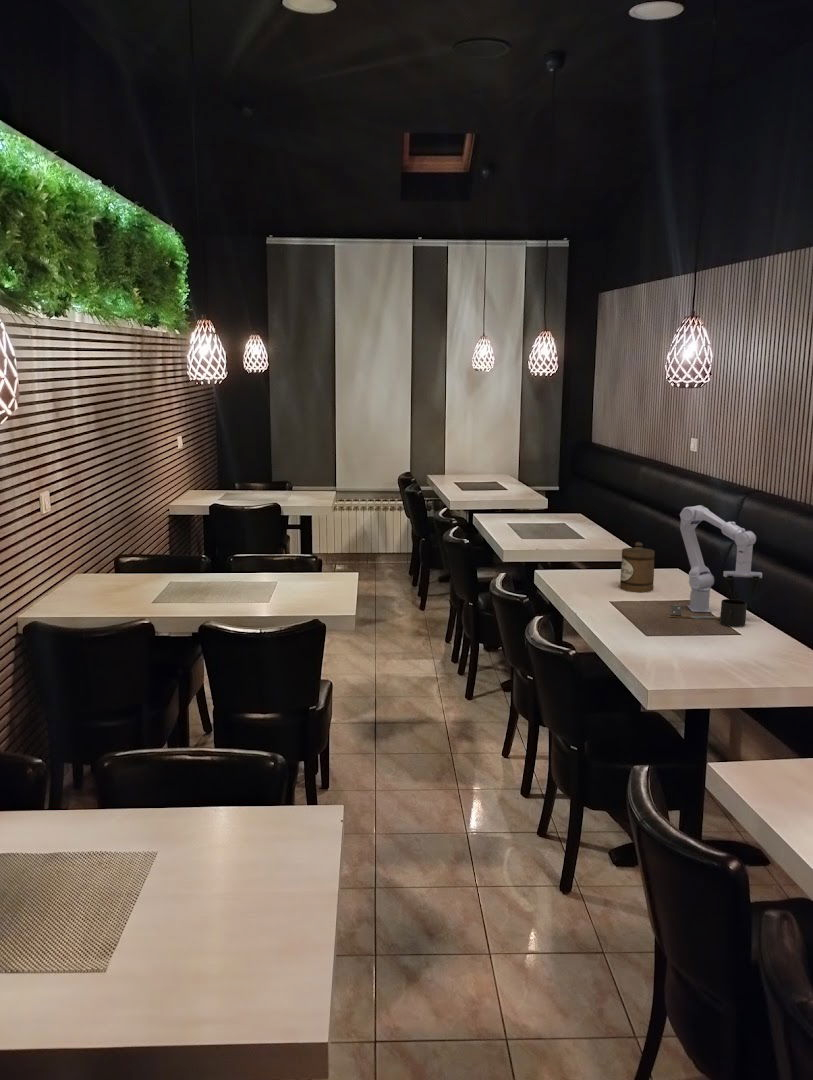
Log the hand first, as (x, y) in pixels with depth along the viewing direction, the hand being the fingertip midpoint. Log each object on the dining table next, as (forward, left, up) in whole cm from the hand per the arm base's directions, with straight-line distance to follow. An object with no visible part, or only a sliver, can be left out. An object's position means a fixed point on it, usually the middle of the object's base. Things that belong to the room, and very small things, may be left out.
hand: (741, 594), depth 348 cm
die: (-1, -25, -10) cm, 27 cm away
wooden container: (-48, -34, -11) cm, 60 cm away
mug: (+8, -5, -11) cm, 14 cm away
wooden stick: (0, -14, -10) cm, 18 cm away
